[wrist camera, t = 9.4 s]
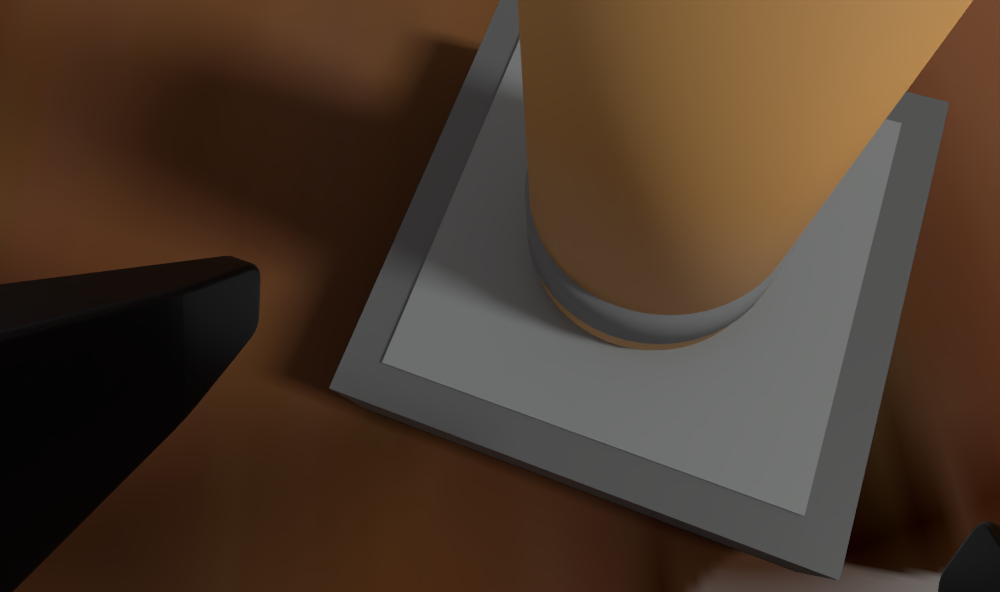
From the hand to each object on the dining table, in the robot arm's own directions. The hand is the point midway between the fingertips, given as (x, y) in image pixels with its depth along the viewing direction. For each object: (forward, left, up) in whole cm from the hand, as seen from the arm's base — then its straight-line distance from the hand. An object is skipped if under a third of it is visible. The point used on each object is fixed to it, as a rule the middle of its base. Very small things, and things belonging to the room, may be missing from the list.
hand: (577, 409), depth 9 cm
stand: (+6, 0, -11) cm, 12 cm away
